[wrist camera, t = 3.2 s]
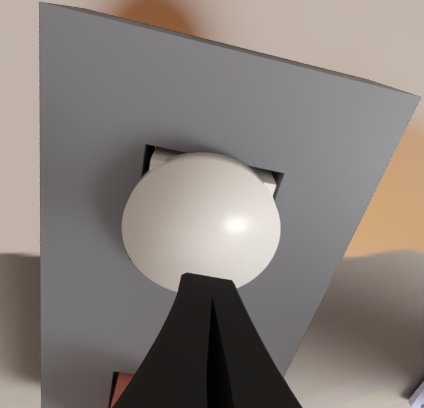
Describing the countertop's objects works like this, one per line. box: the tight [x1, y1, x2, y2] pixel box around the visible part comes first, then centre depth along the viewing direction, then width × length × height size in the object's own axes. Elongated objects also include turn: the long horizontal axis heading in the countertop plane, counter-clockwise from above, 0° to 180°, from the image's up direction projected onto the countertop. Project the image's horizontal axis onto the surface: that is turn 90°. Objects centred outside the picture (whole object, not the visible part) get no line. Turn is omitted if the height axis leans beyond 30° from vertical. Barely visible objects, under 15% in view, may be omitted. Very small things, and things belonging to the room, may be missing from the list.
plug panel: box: [39, 2, 421, 408], centre depth 18 cm, size 12×24×4 cm, turn 167°
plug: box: [122, 146, 281, 292], centre depth 14 cm, size 6×6×5 cm
